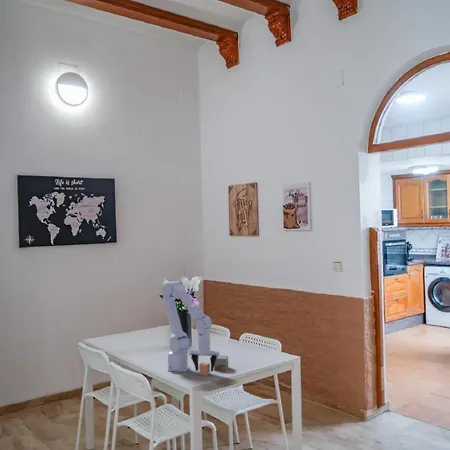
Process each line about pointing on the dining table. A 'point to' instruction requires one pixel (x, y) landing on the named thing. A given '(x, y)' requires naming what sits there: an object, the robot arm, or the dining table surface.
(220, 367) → the walnut slab
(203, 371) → the tan clay cube
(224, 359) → the slate slab
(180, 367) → the robot arm
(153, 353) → the dining table surface
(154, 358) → the dining table surface
